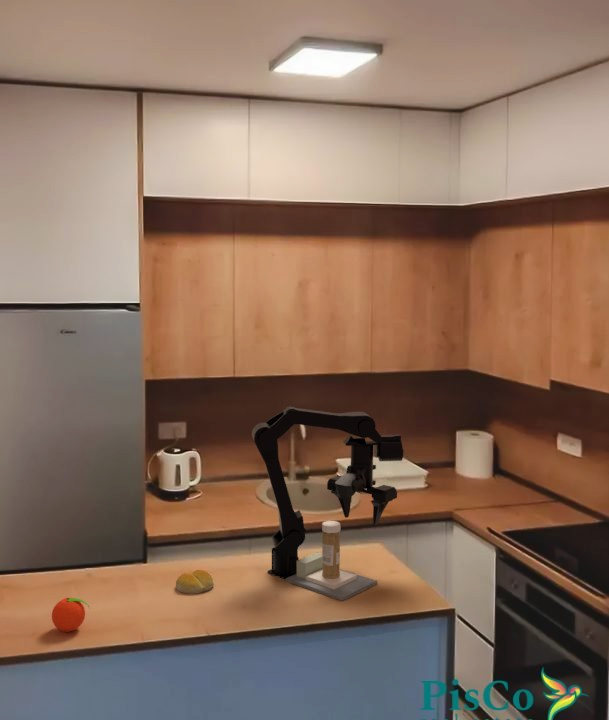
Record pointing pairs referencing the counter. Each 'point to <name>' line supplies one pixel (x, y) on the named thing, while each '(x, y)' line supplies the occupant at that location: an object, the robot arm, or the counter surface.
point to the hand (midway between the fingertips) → (360, 520)
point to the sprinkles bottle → (331, 549)
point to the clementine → (68, 614)
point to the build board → (328, 579)
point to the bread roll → (194, 582)
